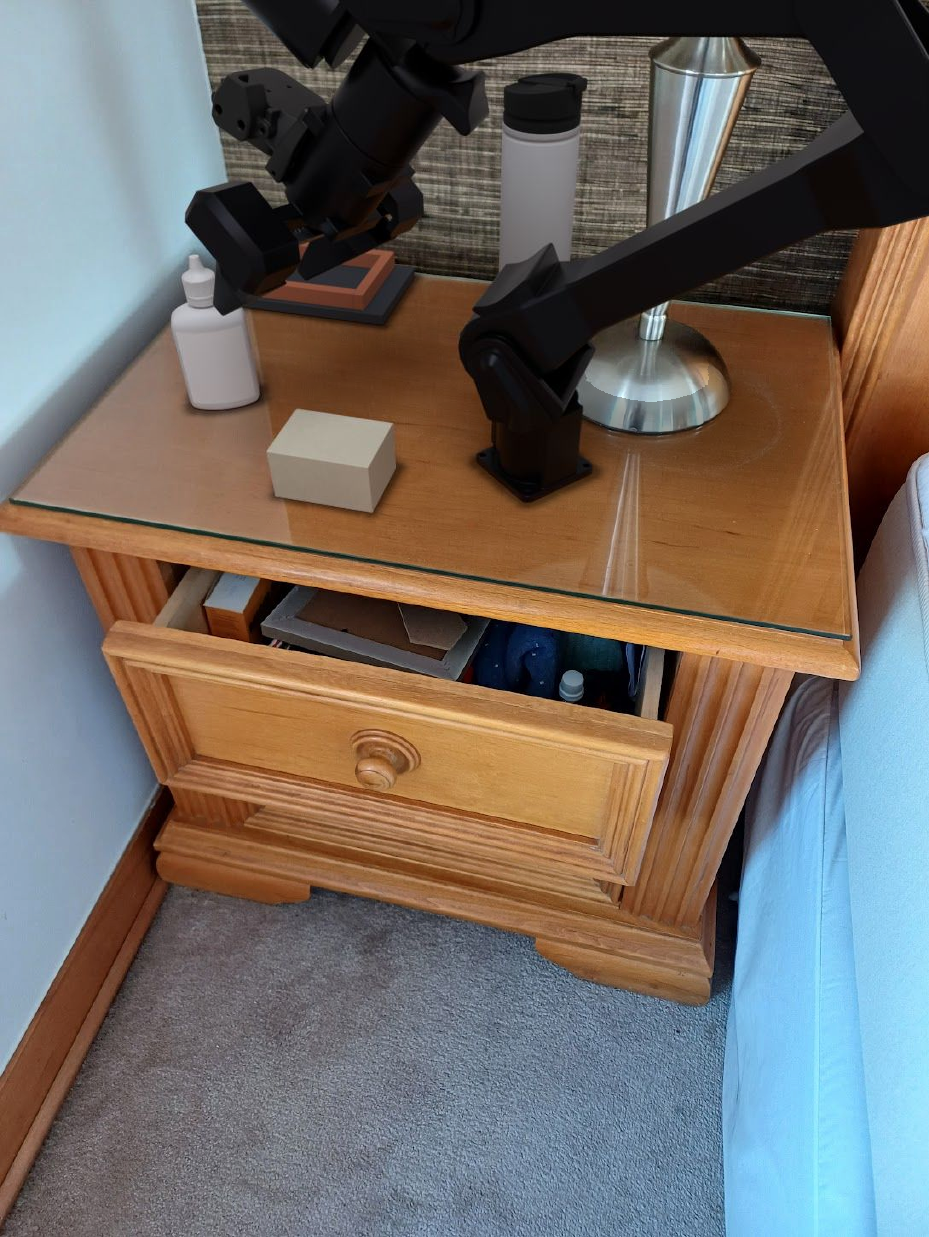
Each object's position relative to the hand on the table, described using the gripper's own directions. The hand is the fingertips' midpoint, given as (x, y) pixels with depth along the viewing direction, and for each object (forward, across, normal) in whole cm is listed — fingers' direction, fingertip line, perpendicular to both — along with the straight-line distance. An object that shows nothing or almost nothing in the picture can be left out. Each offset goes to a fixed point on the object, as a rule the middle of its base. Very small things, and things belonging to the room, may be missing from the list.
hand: (262, 292), depth 66 cm
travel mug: (-1, -25, +12) cm, 28 cm away
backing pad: (+12, -20, -3) cm, 23 cm away
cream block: (+3, +4, +14) cm, 15 cm away
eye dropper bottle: (+12, -1, +2) cm, 12 cm away
